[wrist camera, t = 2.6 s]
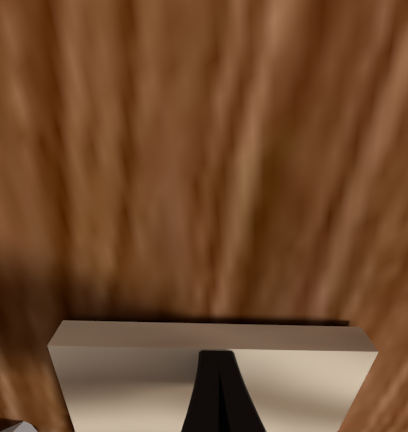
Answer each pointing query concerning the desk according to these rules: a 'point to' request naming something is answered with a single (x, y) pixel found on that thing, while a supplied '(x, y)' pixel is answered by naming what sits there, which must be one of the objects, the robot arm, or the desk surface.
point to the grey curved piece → (21, 428)
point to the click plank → (187, 368)
